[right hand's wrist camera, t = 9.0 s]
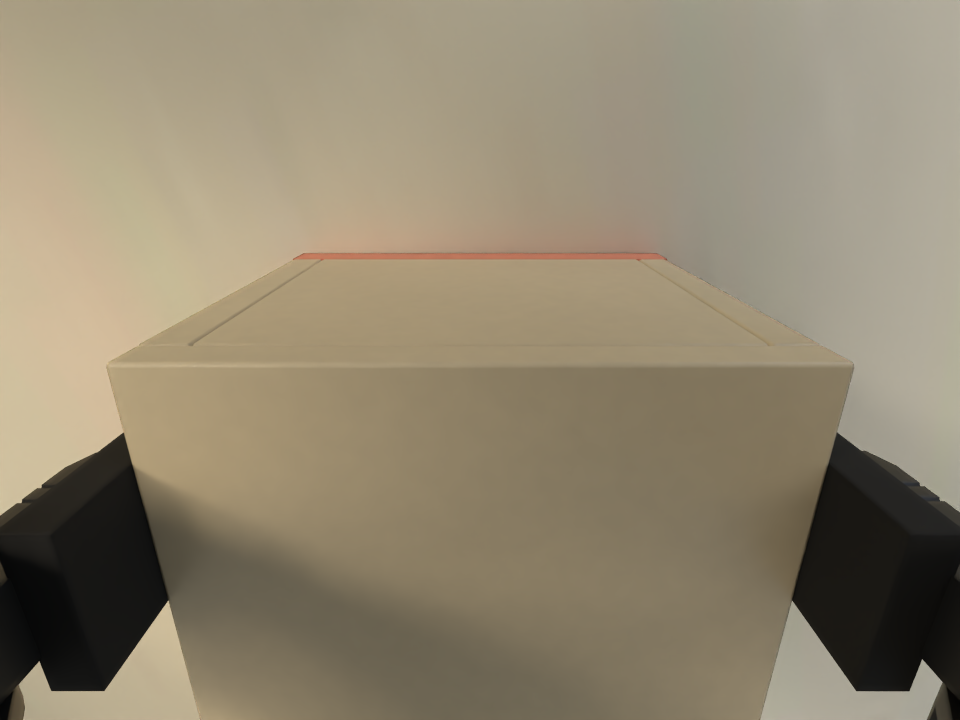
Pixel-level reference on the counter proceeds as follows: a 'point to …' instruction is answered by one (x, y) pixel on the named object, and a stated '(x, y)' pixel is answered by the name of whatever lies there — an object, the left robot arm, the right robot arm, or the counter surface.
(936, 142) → the counter surface
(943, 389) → the counter surface
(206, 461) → the cabinet
